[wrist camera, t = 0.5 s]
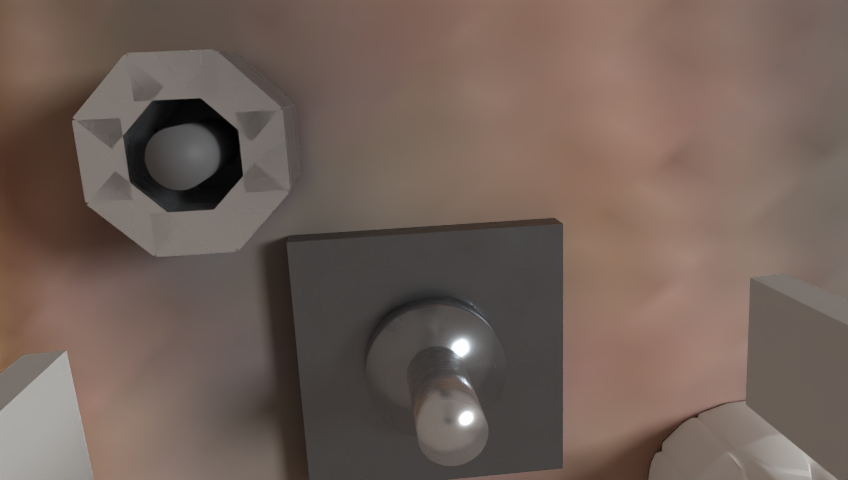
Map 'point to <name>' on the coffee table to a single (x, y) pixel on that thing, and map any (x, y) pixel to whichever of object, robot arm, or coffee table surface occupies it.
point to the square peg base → (430, 350)
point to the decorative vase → (732, 450)
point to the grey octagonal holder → (149, 113)
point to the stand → (195, 150)
